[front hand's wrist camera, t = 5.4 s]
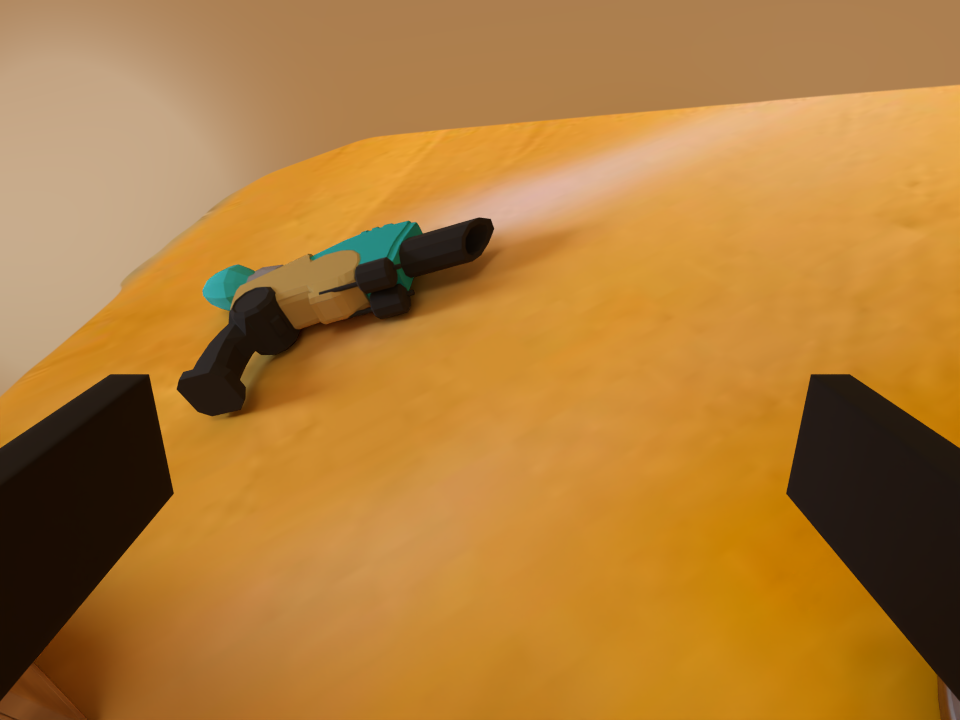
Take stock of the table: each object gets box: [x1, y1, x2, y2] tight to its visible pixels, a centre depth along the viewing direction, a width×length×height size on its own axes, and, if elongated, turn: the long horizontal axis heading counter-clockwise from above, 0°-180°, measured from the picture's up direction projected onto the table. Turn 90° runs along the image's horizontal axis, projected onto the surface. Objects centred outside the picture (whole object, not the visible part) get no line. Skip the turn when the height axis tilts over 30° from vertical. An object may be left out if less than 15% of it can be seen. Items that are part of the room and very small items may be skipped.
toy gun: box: [177, 218, 494, 416], centre depth 45 cm, size 4×26×15 cm
